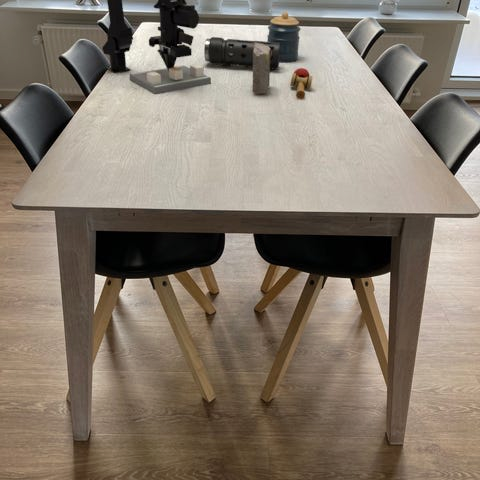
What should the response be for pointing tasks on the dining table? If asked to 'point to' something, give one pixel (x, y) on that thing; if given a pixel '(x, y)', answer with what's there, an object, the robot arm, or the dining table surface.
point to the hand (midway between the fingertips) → (170, 72)
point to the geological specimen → (261, 68)
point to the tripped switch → (176, 73)
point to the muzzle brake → (237, 52)
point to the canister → (285, 36)
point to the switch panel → (170, 79)
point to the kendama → (301, 82)
